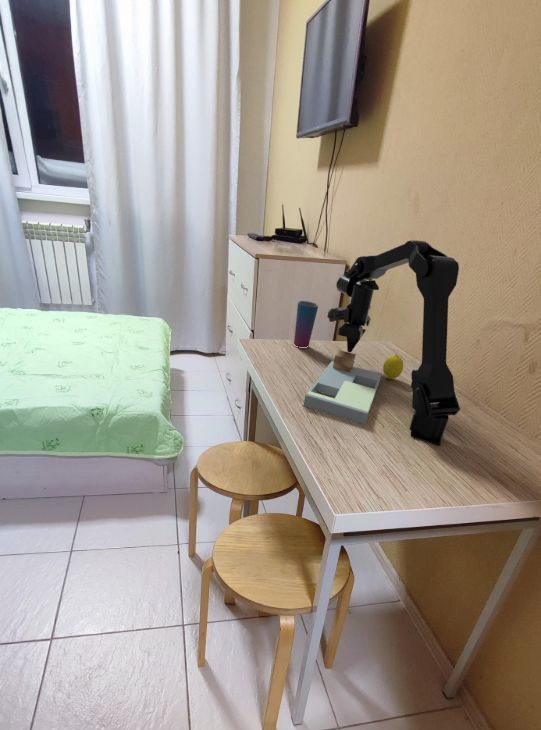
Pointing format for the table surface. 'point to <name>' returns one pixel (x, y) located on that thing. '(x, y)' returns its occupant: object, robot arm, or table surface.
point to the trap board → (344, 393)
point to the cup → (304, 322)
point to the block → (344, 361)
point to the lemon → (393, 366)
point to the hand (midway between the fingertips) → (349, 351)
